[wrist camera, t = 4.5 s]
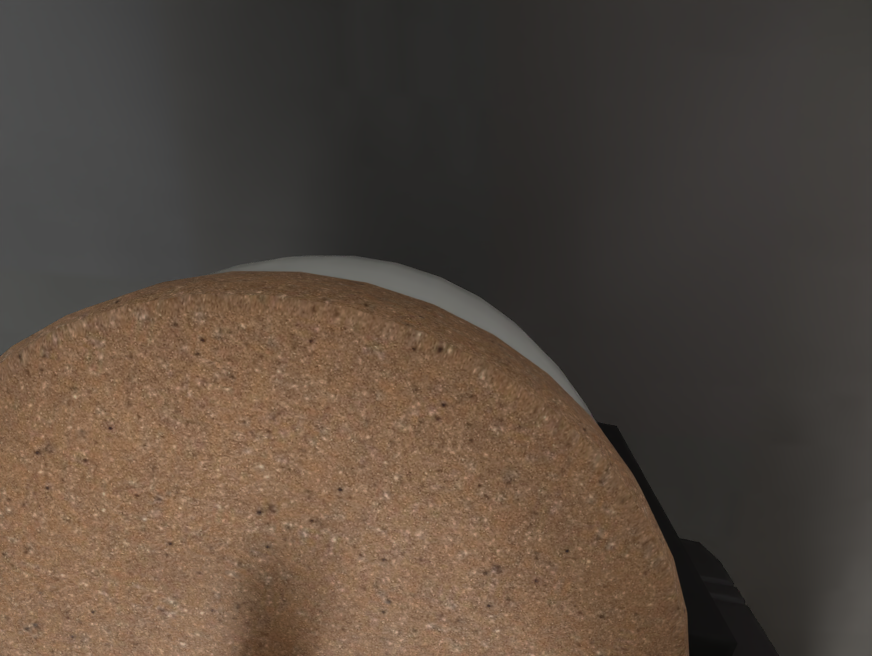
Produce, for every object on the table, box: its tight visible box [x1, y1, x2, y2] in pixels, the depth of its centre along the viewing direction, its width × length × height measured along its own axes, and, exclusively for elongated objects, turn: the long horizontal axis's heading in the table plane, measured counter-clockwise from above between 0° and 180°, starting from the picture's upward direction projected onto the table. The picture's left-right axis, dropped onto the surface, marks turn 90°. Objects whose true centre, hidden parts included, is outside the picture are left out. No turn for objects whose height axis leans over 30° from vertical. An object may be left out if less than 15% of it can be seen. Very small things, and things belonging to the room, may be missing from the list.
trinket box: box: [0, 255, 689, 656], centre depth 10 cm, size 11×11×9 cm
